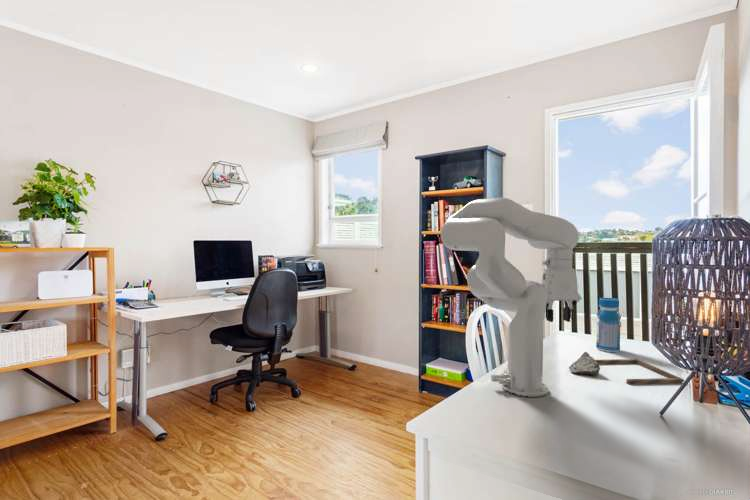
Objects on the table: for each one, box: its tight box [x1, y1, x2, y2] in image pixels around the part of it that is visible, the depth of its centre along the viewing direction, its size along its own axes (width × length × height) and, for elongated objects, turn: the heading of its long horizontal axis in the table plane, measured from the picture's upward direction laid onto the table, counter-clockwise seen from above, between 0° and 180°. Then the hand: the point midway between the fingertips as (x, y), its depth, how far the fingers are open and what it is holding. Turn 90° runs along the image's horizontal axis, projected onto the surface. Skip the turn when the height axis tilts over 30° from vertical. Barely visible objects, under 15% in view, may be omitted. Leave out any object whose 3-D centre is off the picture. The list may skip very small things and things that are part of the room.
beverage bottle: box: [595, 297, 622, 353], centre depth 159 cm, size 8×8×20 cm
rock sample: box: [568, 351, 601, 376], centre depth 133 cm, size 10×8×9 cm
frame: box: [595, 358, 685, 385], centre depth 133 cm, size 17×20×1 cm
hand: (558, 320), depth 130 cm, fingers open, 4 cm apart
